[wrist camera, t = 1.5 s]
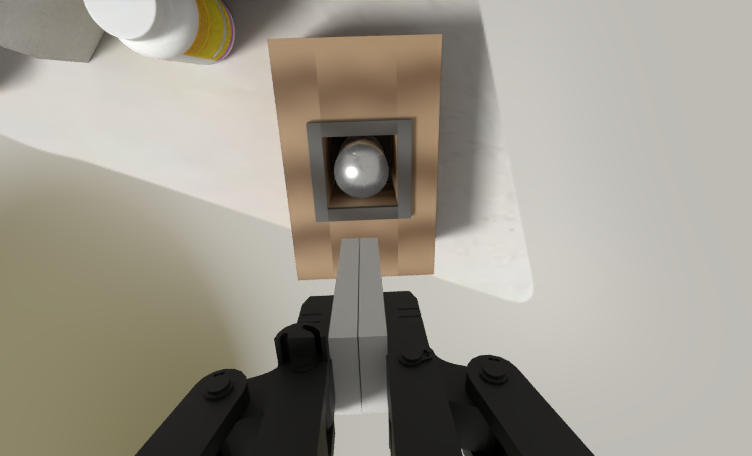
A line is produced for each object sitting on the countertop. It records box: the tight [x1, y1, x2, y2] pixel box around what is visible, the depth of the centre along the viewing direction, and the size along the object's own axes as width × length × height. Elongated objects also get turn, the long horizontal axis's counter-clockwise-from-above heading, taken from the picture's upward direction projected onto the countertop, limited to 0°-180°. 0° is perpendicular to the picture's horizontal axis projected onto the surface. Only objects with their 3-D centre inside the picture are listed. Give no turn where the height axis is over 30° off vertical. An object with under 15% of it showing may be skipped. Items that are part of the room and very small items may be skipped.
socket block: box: [267, 34, 442, 280], centre depth 36 cm, size 22×14×9 cm, turn 2°
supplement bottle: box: [84, 0, 235, 65], centre depth 29 cm, size 7×7×13 cm
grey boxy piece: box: [0, 0, 105, 63], centre depth 30 cm, size 4×7×10 cm, turn 139°
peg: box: [334, 135, 389, 198], centre depth 36 cm, size 5×5×8 cm
